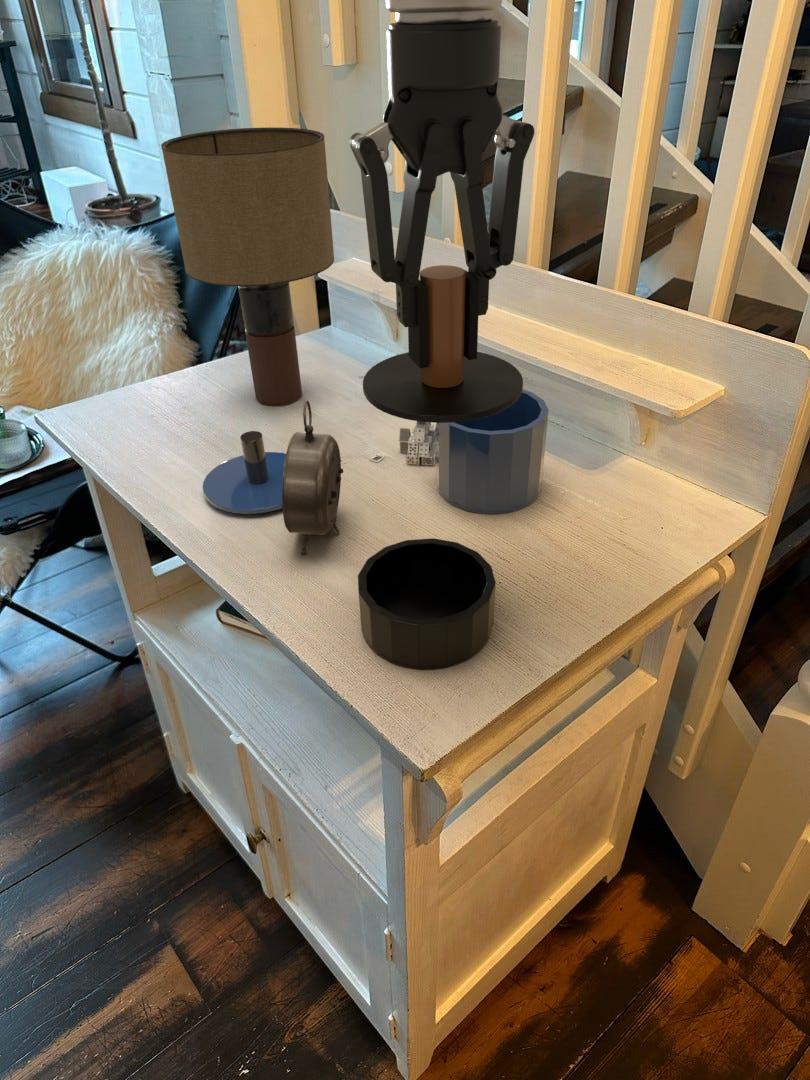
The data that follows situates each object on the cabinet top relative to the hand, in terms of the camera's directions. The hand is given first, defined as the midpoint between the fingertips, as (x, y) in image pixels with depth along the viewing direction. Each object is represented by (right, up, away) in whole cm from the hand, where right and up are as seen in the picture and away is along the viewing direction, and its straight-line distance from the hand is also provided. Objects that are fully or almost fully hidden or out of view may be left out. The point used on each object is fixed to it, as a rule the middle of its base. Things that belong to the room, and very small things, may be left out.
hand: (442, 357), depth 63 cm
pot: (+7, -9, +30) cm, 32 cm away
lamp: (-22, +7, +52) cm, 57 cm away
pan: (-1, -23, +10) cm, 25 cm away
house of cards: (-3, -3, +38) cm, 38 cm away
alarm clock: (-13, -15, +23) cm, 30 cm away
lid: (0, -2, +2) cm, 3 cm away
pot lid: (-21, -8, +31) cm, 38 cm away
